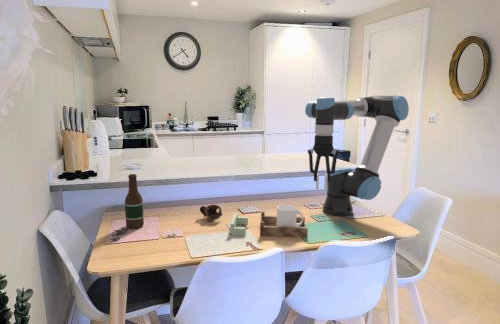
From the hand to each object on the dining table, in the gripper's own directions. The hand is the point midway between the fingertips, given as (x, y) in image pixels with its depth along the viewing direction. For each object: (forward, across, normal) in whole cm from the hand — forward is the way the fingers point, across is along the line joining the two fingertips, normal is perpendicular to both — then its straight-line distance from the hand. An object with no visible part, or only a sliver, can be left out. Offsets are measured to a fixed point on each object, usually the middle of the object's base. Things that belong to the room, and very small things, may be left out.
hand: (321, 188), depth 155 cm
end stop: (+20, +35, 0) cm, 41 cm away
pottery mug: (+20, +50, -12) cm, 55 cm away
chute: (+20, +16, 0) cm, 25 cm away
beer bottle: (+20, +83, +1) cm, 85 cm away
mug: (+20, +13, 0) cm, 24 cm away
